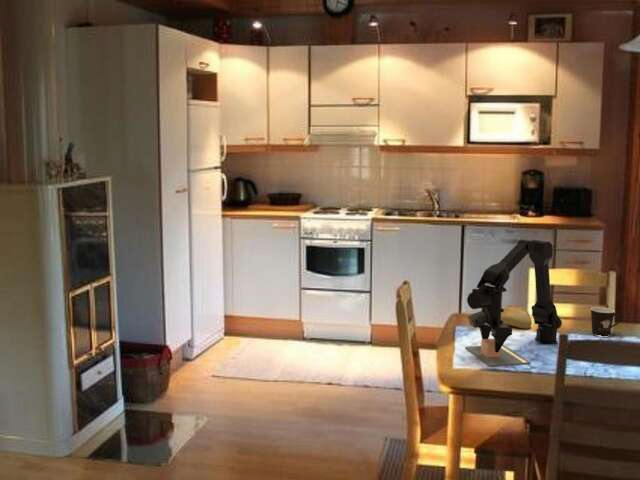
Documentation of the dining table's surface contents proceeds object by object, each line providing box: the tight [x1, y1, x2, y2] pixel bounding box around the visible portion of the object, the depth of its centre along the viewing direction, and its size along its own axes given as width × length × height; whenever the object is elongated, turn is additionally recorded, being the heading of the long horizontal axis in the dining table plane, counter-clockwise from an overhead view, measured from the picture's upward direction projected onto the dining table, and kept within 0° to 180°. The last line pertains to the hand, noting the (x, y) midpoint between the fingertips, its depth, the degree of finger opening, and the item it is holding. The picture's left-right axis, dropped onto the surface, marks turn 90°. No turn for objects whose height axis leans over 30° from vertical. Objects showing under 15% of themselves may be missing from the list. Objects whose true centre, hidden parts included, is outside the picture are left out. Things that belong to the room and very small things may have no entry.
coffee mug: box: [590, 306, 623, 336], centre depth 282 cm, size 12×9×10 cm
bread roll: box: [501, 305, 532, 330], centre depth 293 cm, size 10×15×8 cm, turn 56°
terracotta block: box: [480, 338, 501, 357], centre depth 255 cm, size 5×5×5 cm
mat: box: [464, 344, 531, 368], centre depth 256 cm, size 15×20×1 cm
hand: (490, 348), depth 255 cm, fingers open, 9 cm apart
